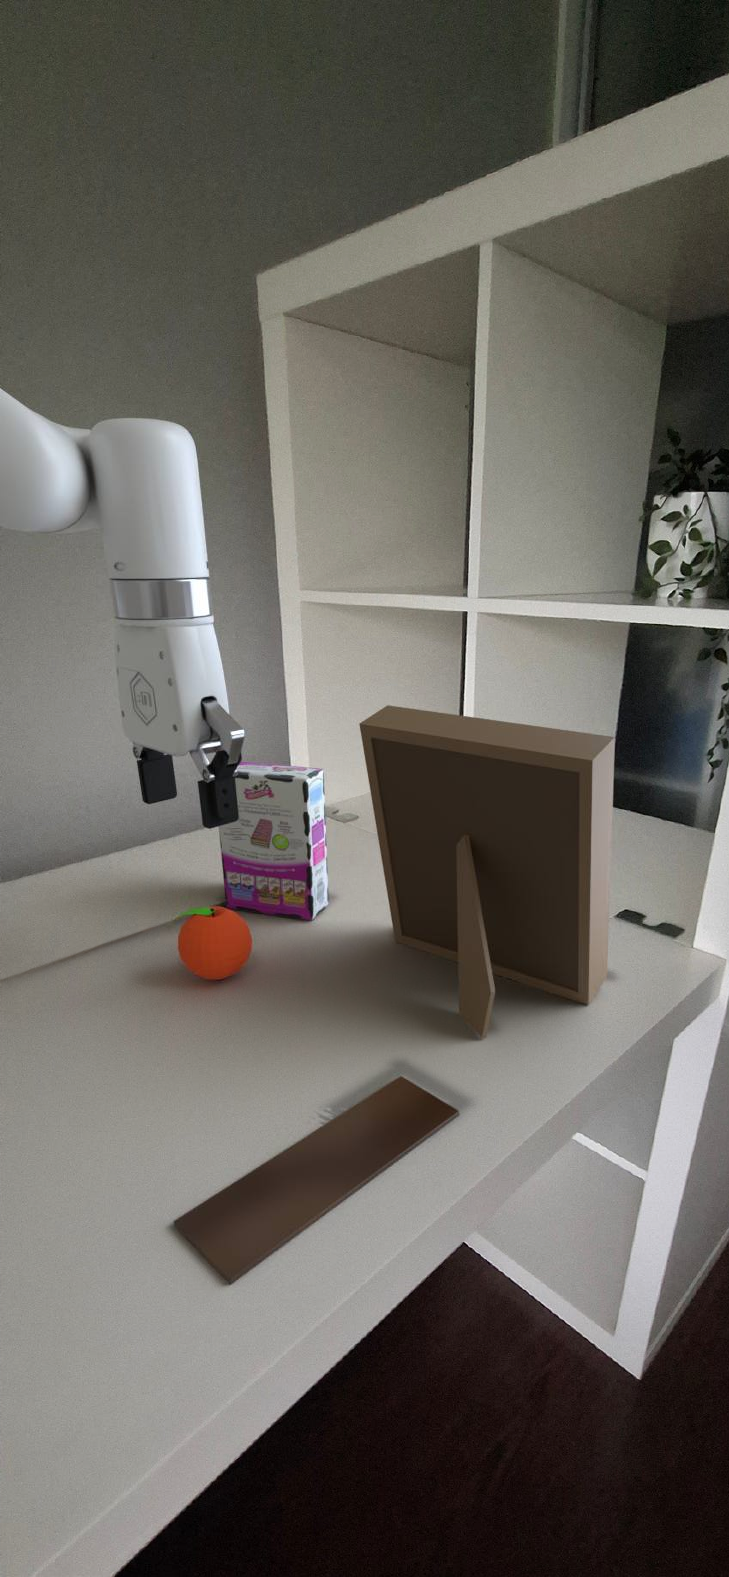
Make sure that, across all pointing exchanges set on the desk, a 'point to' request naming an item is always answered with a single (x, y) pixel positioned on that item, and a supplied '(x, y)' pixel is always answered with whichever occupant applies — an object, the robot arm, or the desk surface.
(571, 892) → the photo frame
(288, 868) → the candy bar box
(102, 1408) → the desk surface
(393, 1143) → the edge strip
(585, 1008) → the desk surface
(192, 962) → the clementine
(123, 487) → the robot arm
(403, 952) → the desk surface
